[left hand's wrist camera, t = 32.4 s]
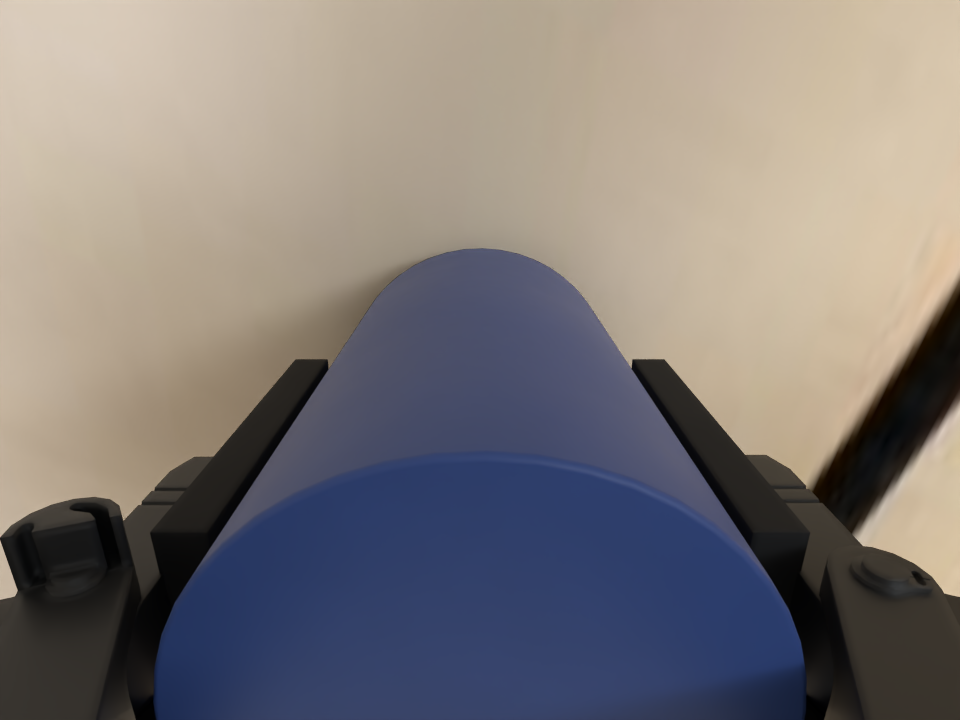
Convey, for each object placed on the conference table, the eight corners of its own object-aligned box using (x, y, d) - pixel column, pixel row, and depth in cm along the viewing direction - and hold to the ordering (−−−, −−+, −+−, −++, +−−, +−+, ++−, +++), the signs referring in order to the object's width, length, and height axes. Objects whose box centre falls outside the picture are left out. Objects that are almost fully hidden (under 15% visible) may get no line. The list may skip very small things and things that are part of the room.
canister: (647, 419, 17) (890, 823, 7) (435, 520, 18) (379, 985, 8) (535, 196, 15) (652, 314, 5) (301, 327, 16) (3, 643, 6)
